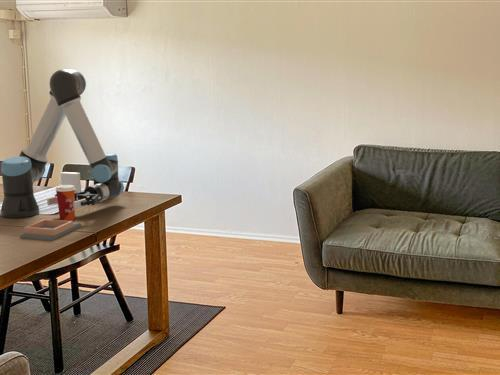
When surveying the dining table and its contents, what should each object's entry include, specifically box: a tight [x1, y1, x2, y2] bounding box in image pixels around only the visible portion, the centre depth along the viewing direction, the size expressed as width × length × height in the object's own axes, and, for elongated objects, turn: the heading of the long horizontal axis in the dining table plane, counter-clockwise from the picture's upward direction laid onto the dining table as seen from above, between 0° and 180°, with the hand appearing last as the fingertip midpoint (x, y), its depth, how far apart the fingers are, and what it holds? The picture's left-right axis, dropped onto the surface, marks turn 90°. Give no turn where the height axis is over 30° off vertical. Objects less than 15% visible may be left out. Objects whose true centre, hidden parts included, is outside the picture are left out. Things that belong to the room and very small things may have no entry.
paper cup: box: [55, 184, 76, 222], centre depth 246 cm, size 8×8×14 cm
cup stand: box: [19, 218, 82, 242], centre depth 230 cm, size 13×20×3 cm, turn 164°
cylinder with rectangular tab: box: [60, 171, 82, 199], centre depth 287 cm, size 9×9×12 cm
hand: (60, 203), depth 243 cm, fingers open, 13 cm apart
